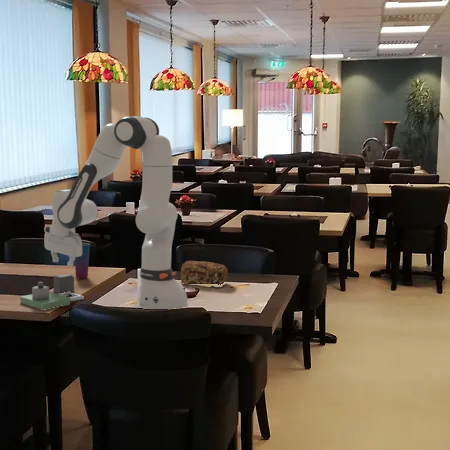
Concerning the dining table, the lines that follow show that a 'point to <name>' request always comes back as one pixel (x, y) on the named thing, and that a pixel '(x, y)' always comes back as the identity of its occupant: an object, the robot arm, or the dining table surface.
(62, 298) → the deck
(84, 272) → the cup
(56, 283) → the grey piece
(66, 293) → the bracket
